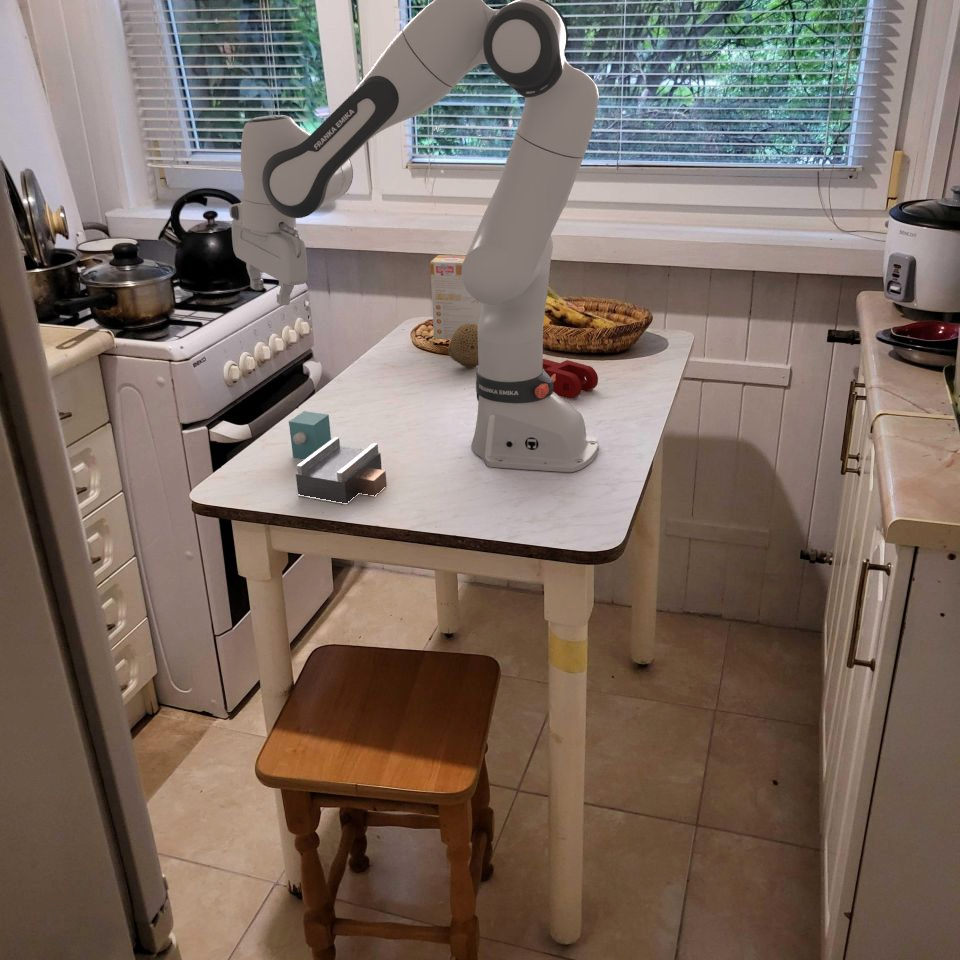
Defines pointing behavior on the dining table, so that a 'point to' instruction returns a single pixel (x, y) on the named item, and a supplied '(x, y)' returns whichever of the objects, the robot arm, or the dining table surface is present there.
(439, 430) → the dining table surface
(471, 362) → the natural sponge
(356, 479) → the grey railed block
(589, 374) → the mechanical linkage
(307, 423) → the block
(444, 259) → the coffeecake box
